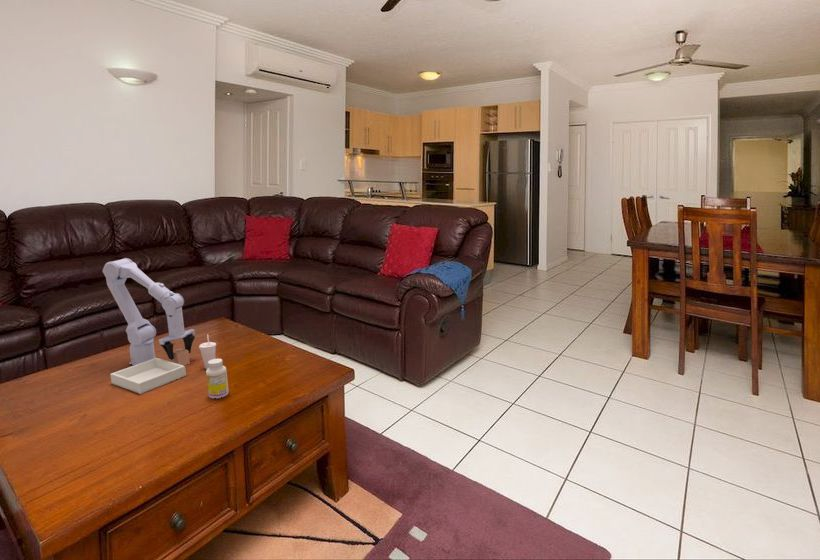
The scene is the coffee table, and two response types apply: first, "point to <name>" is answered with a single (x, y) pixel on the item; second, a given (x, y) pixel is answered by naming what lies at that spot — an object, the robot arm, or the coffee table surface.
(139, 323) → the robot arm
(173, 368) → the tray
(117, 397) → the coffee table surface
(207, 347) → the smoothie
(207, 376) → the supplement bottle
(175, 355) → the brown cube block
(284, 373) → the coffee table surface
